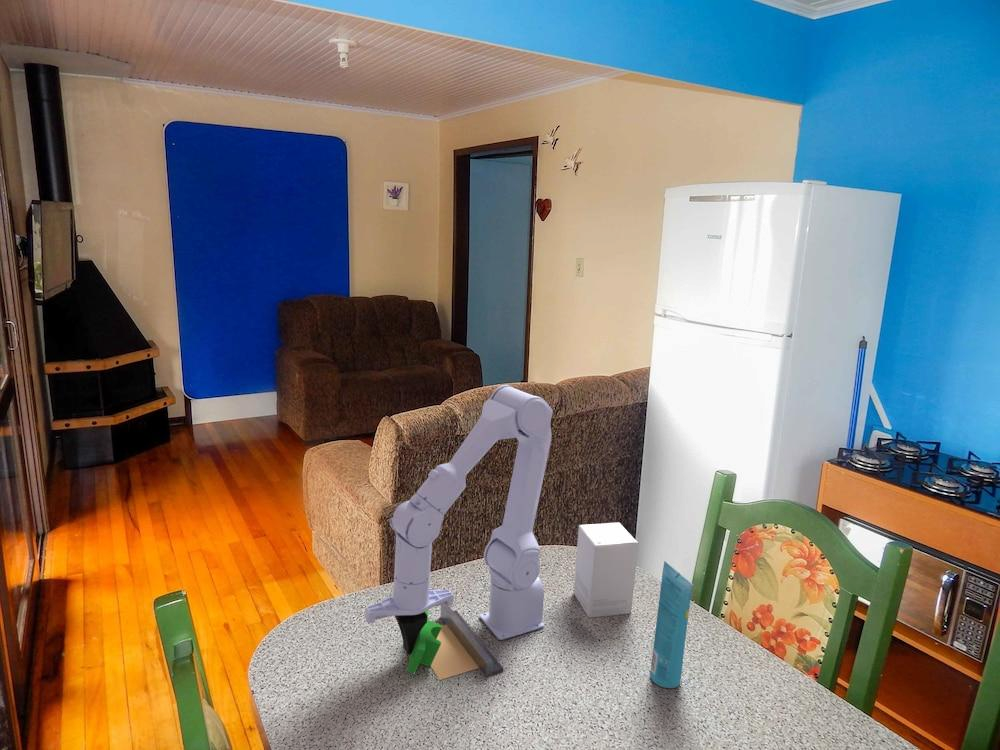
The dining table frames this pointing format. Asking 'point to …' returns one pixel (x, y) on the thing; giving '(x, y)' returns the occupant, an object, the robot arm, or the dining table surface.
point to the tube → (670, 628)
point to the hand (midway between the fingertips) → (407, 650)
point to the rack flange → (461, 649)
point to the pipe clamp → (425, 645)
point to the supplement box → (605, 569)
